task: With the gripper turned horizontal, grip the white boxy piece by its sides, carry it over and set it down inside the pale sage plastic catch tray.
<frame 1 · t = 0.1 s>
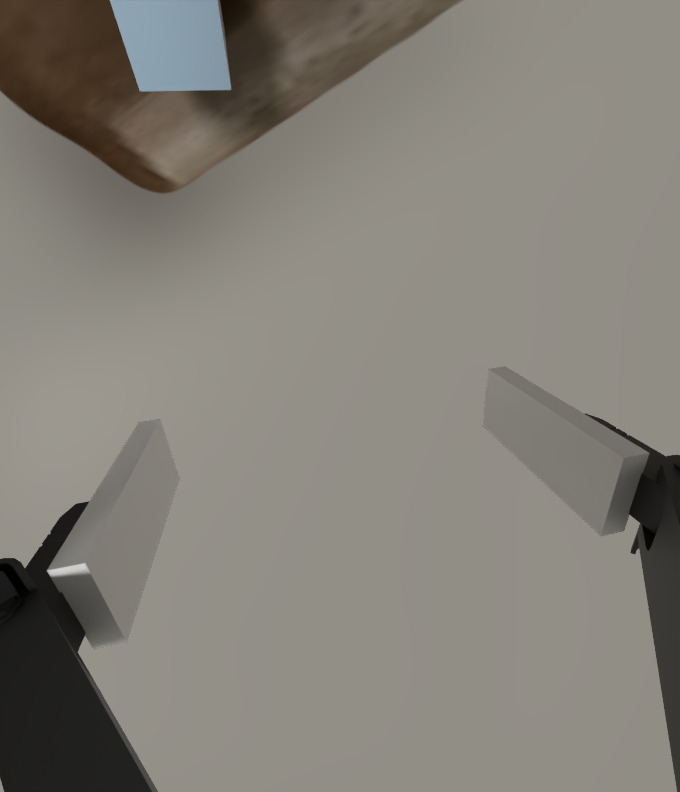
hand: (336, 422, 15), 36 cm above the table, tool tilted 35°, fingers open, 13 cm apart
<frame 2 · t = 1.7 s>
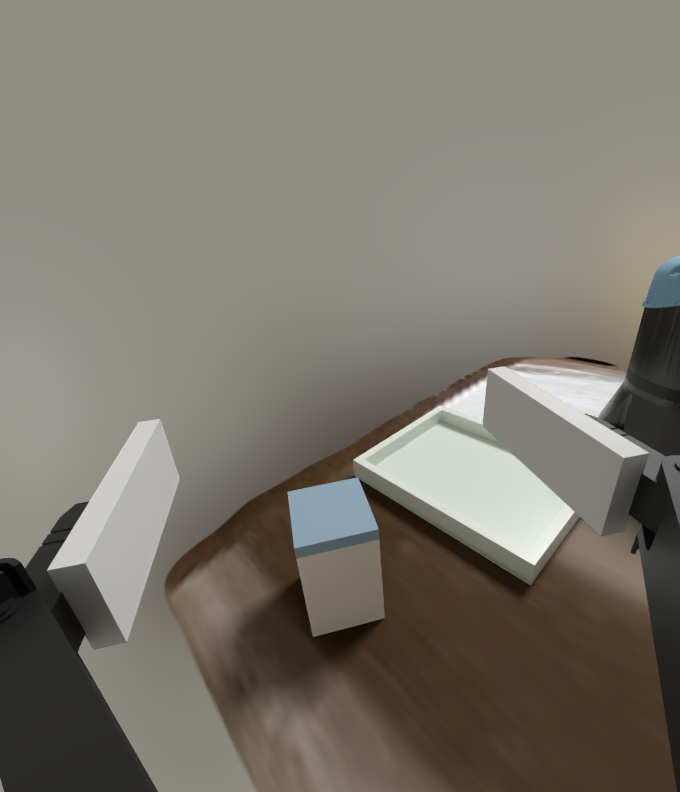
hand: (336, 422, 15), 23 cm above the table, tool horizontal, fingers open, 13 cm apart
catch tray: (472, 479, 45), on the table
white boxy piece: (341, 594, 33), on the table
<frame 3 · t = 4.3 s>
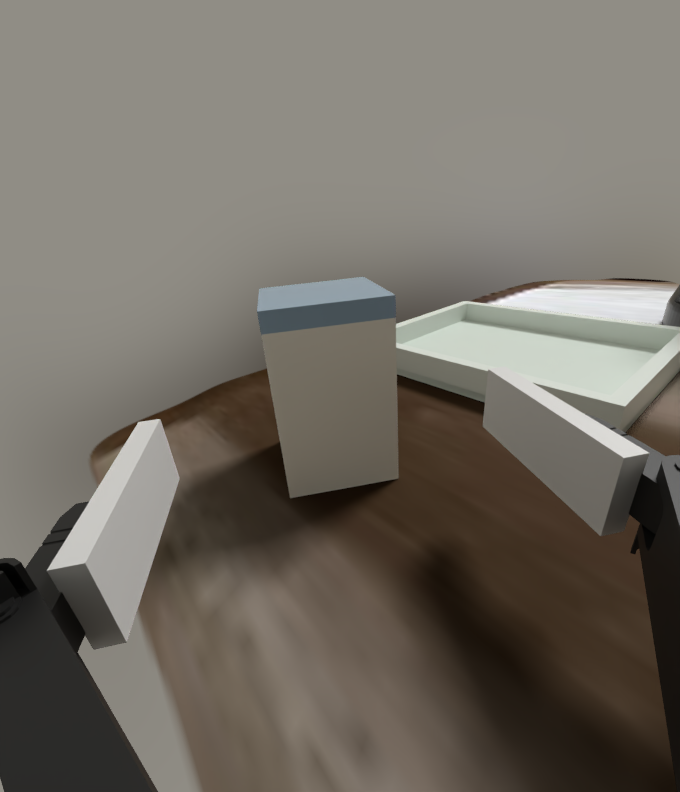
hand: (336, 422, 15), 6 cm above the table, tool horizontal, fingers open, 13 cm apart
catch tray: (511, 360, 35), on the table
white boxy piece: (336, 457, 23), on the table
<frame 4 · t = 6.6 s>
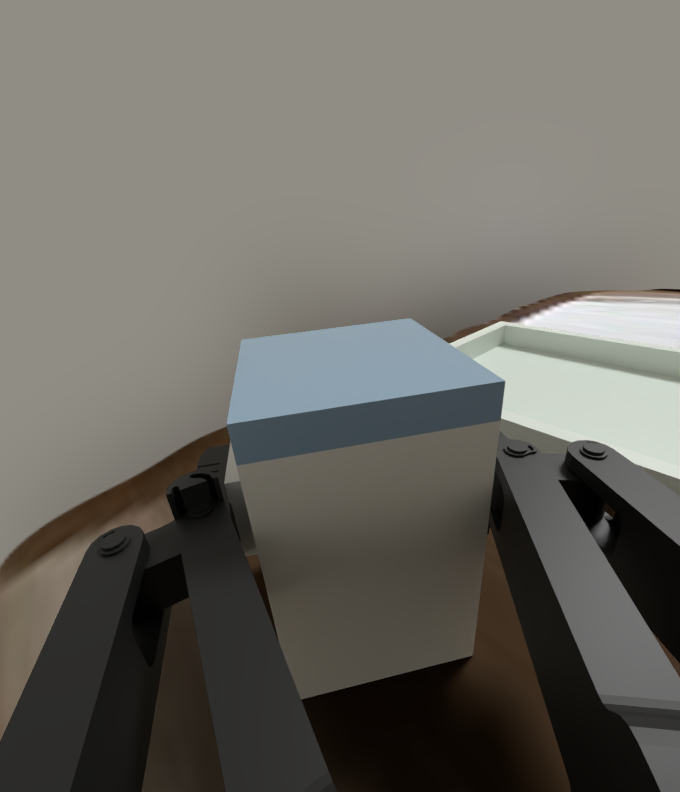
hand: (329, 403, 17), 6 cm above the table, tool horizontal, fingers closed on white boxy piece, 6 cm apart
catch tray: (579, 407, 27), on the table
white boxy piece: (363, 595, 15), on the table, touching gripper
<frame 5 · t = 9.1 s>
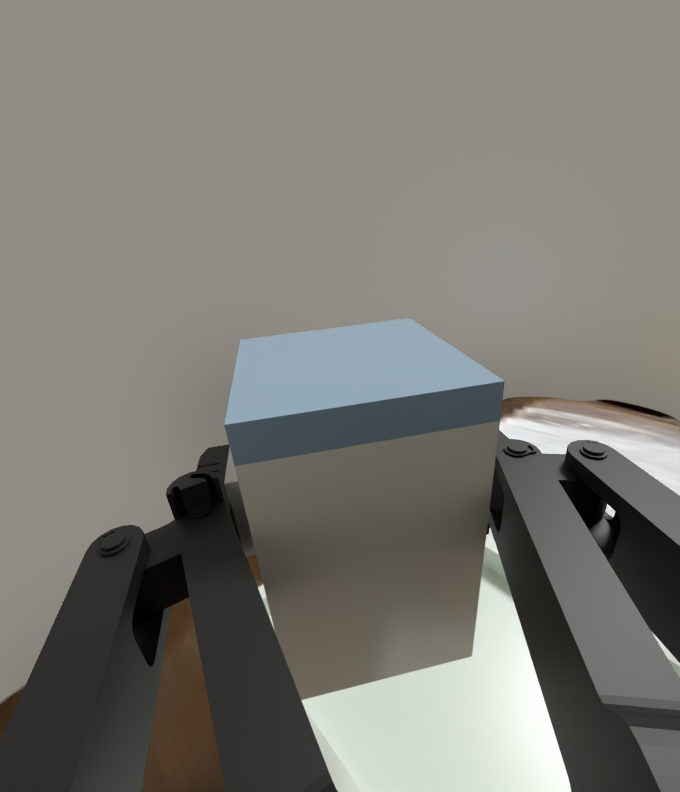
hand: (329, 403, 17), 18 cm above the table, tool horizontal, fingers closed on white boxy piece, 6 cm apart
catch tray: (443, 668, 23), on the table
white boxy piece: (362, 596, 15), point 12 cm above the table, touching gripper
when the fingers open (8 cm above the table, at t = 11.7 s): white boxy piece drops 1 cm, resting on catch tray.
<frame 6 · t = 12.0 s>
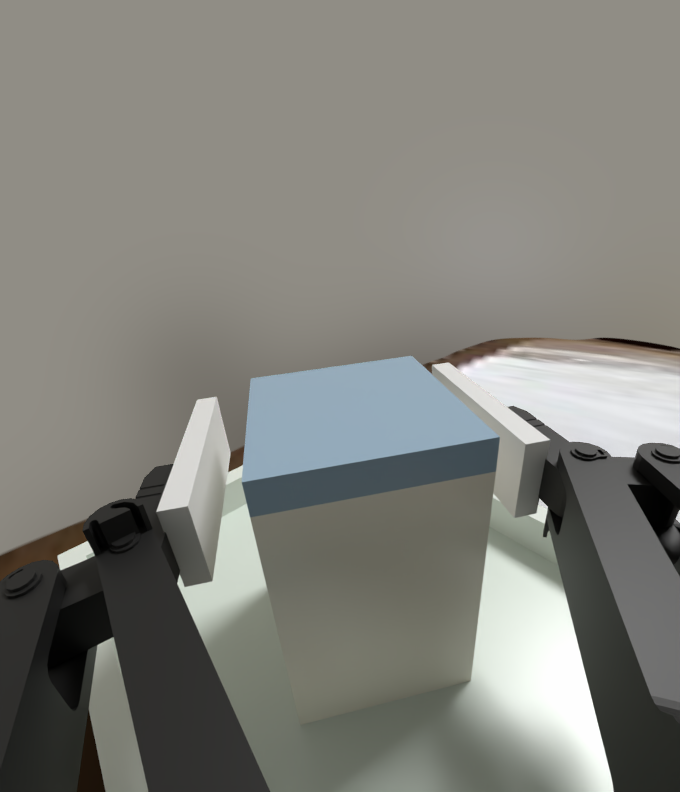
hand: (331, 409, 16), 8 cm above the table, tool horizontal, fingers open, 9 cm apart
catch tray: (366, 628, 16), on the table
white boxy piece: (366, 619, 16), point 1 cm above the table, touching catch tray
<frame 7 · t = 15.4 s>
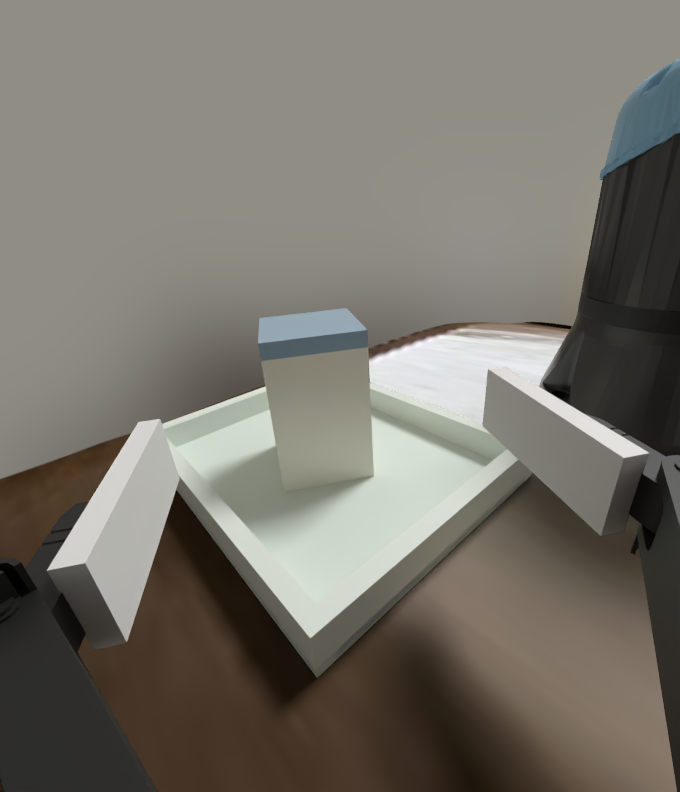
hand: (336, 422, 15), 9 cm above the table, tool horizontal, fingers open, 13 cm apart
catch tray: (323, 465, 28), on the table
white boxy piece: (323, 458, 28), point 1 cm above the table, touching catch tray
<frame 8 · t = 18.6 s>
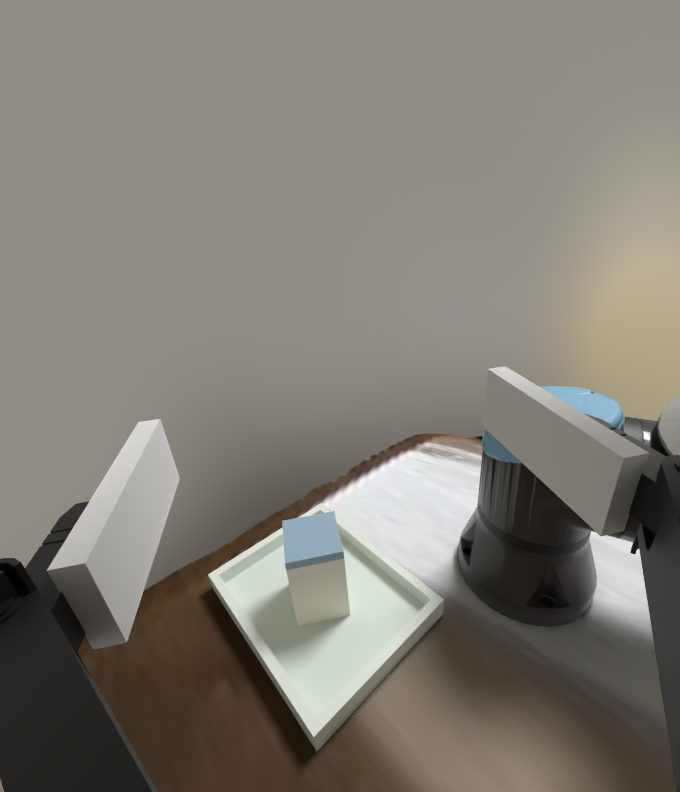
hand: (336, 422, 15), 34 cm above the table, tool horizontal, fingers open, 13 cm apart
catch tray: (320, 600, 45), on the table
white boxy piece: (320, 597, 45), point 1 cm above the table, touching catch tray
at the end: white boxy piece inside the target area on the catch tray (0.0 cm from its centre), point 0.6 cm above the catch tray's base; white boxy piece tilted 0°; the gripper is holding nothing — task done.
